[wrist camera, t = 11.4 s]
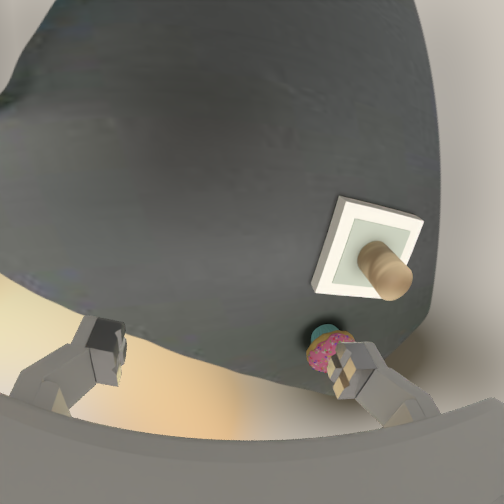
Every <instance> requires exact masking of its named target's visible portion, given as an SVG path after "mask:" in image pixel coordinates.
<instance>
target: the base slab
mask: <svg viewBox="0 0 504 504" xmlns="http://www.w3.org/2000/svg"><path fill="white" fill-rule="evenodd" d="M423 223H424V221H423V220H422V219H420V218H419V217H417V216H416V215H413V214H410V213H406V212H402V211H399V210H395V209H391V208H387V207H384V206H380V205H376V204H372V203H368V202H364V201H360V200H356V199H351V198H347V197H343V196H339V197H338V201H337V204H336V207H335V211H334V214H333V217H332V220H331V223H330V227H329V230H328V233H327V236H326V239H325V242H324V245H323V248H322V252H321V255H320V258H319V261H318V264H317V266H316V269H315V272H314V275H313V278H312V281H311V285H312V287H313V289H314V291H315V293H322V294H333V295H344V296H356V297H368V298H380V299H382V298H381V297H380V296H379V294H378V293H377V292H376V290H375V289H374V287H373V286H372V285H371V283H370V282H369V281H368V279H367V278H366V276H365V275H364V274H363V272H362V271H361V270H360V268H359V267H358V264H357V258H358V255H359V253H360V251H361V250H362V248H363V247H364V246H365V245H367V244H368V243H370V242H373V241H381V242H383V243H385V244H386V245H387V246H388V247H389V248H390V249H391V250H392V251H393V252H394V253H395V254H396V255H397V256H398V257H399V259H400V260H401V261H402V262H403V263H404V264H405V265H407V263H408V260H409V258H410V255H411V253H412V251H413V248H414V246H415V243H416V241H417V238H418V236H419V233H420V230H421V228H422V225H423Z"/></svg>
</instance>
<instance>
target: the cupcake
mask: <svg viewBox="0 0 504 504" xmlns="http://www.w3.org/2000/svg"><path fill="white" fill-rule="evenodd" d="M339 342H355V340H354V338H353V336H352V335H351V334H350V333H348V332H347V331H340V330H339V329H338V328H336V327H335V326H334V325H332V324H324V325H321V326H319V327H317V328H316V329H315V330H314V331H313V333H312V335H311V345H310V346H309V348H308V349H307V352H306V353H307V361H308V362H309V365H311V366H312V368H313V369H315V370H317V371H319V372H320V371H321V372H323V373H324V372H325V373H326V372H328V371H327V367H328V362H329V360H330V358H331V356H333V355H334V354H335V353H336V351H335V348H336V346H337V344H338V343H339Z"/></svg>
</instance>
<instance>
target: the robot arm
mask: <svg viewBox="0 0 504 504" xmlns="http://www.w3.org/2000/svg"><path fill="white" fill-rule="evenodd" d="M125 331H126V329H125V323H124V322H120V321H115V320H110V319H105V318H100V317H94V316H90V315H86V316H84V317H83V319H82V322H81V324H80V326H79V328H78V330H77V332H76V334H75V336H74V338H73V340H72V342H71V344H65V345H64V346H62V347H60V348H59V349H57V350H55V351H54V352H52V353H50V354H49V355H47V356H46V357H44V358H42V359H41V360H39V361H37V362H35V363H34V364H32V365H31V366H29V367H27V368H26V369H24V370H22V371H21V372H20V375H19V377H18V379H17V381H16V383H15V385H14V387H13V389H12V391H11V393H10V395H9V396H7V395H5V394H2V393H0V504H504V403H502V402H501V401H499V400H497V399H495V398H488V399H485V400H482V401H479V402H477V403H474V404H471V405H468V406H465V407H462V408H459V409H456V410H453V411H450V412H446V413H443V414H441V413H440V411H439V409H438V408H437V406H436V404H435V403H434V401H433V399H432V397H431V396H430V395H429V394H428V393H426V392H425V391H423V390H422V389H421V388H419V387H418V386H416V385H415V384H413V383H412V382H410V381H409V380H408V379H406V378H405V377H403V376H402V375H400V374H399V373H397V372H396V371H394V370H393V369H391V368H388V367H387V365H386V363H385V362H384V360H383V358H382V356H381V355H380V353H379V351H378V350H377V348H376V346H375V344H374V343H372V342H339V343H338V344H337V346H336V348H335V351H336V353H335V354H334V355H333V356H331V358H330V360H329V362H328V367H327V371H328V376H329V378H330V379H331V380H332V381H333V382H334V385H333V389H334V392H335V394H336V397H337V399H352V398H356V399H355V400H356V401H357V402H358V403H359V404H360V405H361V406H362V407H364V408H365V409H366V410H367V411H368V412H369V413H370V414H371V415H372V416H373V417H374V418H375V419H376V420H377V421H378V422H379V423H380V424H381V425H382V426H383V427H382V428H381V429H375V430H370V431H364V432H357V433H351V434H344V435H336V436H328V437H318V438H305V439H292V440H268V441H267V440H266V441H265V440H264V441H240V440H238V441H237V440H212V439H197V438H185V437H175V436H166V435H158V434H151V433H145V432H138V431H132V430H126V429H121V428H116V427H111V426H106V425H102V424H97V423H93V422H89V421H85V420H81V419H77V418H73V417H72V416H71V414H70V412H69V409H70V408H71V407H72V406H73V405H74V404H75V403H76V402H77V401H78V400H80V398H82V396H84V395H85V394H86V393H87V392H88V391H89V390H90V389H92V388H93V387H94V386H95V385H96V383H100V384H105V385H111V386H117V387H118V386H119V382H120V378H121V374H122V372H121V366H122V365H123V364H124V362H125V357H126V350H127V343H126V339H125V338H124V335H125Z"/></svg>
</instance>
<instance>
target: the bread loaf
mask: <svg viewBox="0 0 504 504" xmlns="http://www.w3.org/2000/svg"><path fill="white" fill-rule="evenodd" d="M357 264H358V267H359V268H360V270H361V271H362V272H363V274H364V275H365V276H366V278H367V279H368V281H369V282H370V283H371V285H372V286H373V287H374V289H375V290H376V292H377V293H378V294H379V296H380V297H381V298H382V299H384V300H387V301H391V300H395V299H397V298H399V297H401V296H402V295H403V294H405V293H406V291H407V290H408V289H409V287H410V285H411V283H412V278H413V275H412V272H411V270H410V269H409V268H408V267H407V266H406V265H405V264H404V263H403V262H402V261H401V260H400V259H399V257H398V256H397V255H396V254H395V253H394V252H393V251H392V250H391V249H390V248H389V247H388V246H387V245H386V244H385V243H383V242H381V241H373V242H370V243H368V244H367V245H365V246H364V247H363V248H362V250H361V251H360V253H359V255H358V258H357Z"/></svg>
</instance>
